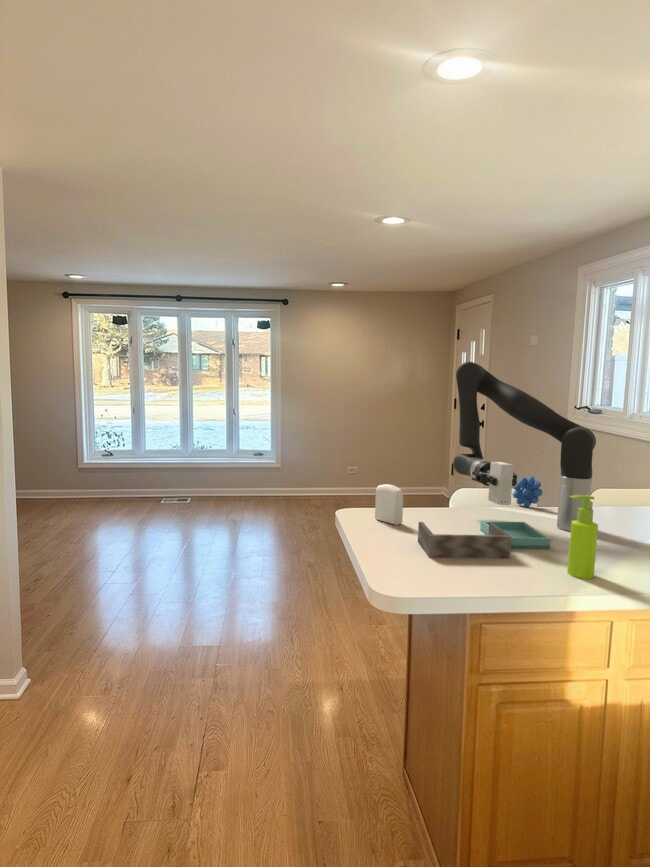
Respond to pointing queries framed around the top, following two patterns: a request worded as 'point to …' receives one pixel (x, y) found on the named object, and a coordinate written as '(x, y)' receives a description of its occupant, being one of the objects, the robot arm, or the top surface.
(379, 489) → the photo printer
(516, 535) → the tray
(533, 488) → the blue knobbly flower shape
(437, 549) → the bay
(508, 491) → the skincare box
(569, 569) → the soap dispenser
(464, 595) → the top surface
